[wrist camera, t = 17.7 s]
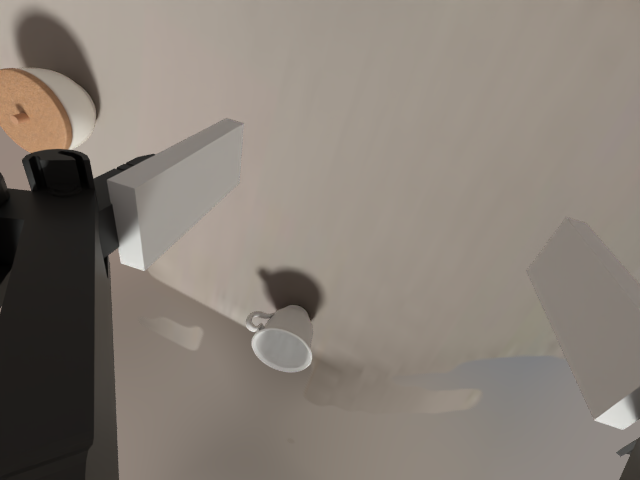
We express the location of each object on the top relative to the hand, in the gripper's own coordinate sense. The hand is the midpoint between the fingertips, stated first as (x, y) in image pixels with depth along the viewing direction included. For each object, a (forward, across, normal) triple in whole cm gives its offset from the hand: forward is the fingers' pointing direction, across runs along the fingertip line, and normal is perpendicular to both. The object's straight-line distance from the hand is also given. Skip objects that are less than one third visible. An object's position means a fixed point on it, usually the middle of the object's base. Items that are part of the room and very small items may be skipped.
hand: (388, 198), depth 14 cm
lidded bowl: (+37, -51, -17) cm, 65 cm away
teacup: (+37, -8, -48) cm, 61 cm away
